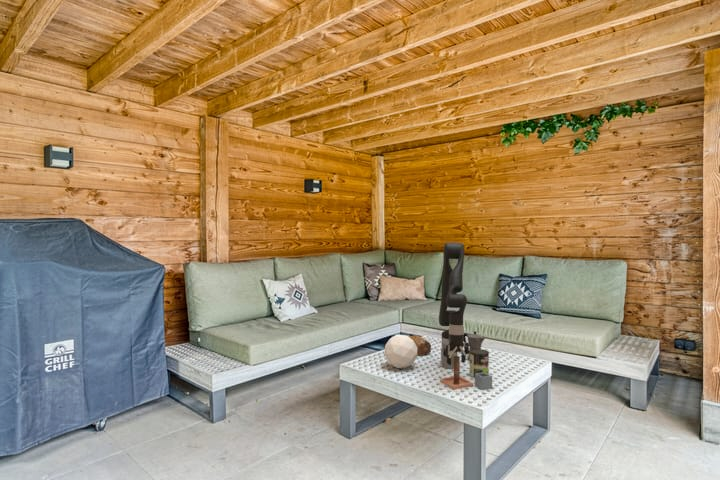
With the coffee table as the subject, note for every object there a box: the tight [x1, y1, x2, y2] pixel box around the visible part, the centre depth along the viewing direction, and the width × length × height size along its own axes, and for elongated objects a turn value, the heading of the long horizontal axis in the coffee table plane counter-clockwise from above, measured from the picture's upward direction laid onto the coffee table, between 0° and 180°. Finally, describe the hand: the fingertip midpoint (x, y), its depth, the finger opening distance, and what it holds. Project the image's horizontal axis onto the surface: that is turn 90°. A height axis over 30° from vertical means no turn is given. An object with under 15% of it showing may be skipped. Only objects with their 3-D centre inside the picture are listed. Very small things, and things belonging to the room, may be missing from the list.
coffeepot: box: [463, 330, 486, 362], centre depth 258 cm, size 15×9×18 cm, turn 44°
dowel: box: [453, 355, 461, 385], centre depth 215 cm, size 3×3×14 cm
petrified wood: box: [407, 334, 432, 356], centre depth 275 cm, size 19×13×10 cm
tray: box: [439, 375, 474, 390], centre depth 215 cm, size 12×12×2 cm
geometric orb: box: [384, 334, 418, 370], centre depth 245 cm, size 19×20×20 cm
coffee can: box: [469, 348, 490, 379], centre depth 228 cm, size 10×10×14 cm
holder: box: [474, 372, 493, 391], centre depth 211 cm, size 6×6×7 cm
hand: (456, 363), depth 215 cm, fingers open, 8 cm apart
